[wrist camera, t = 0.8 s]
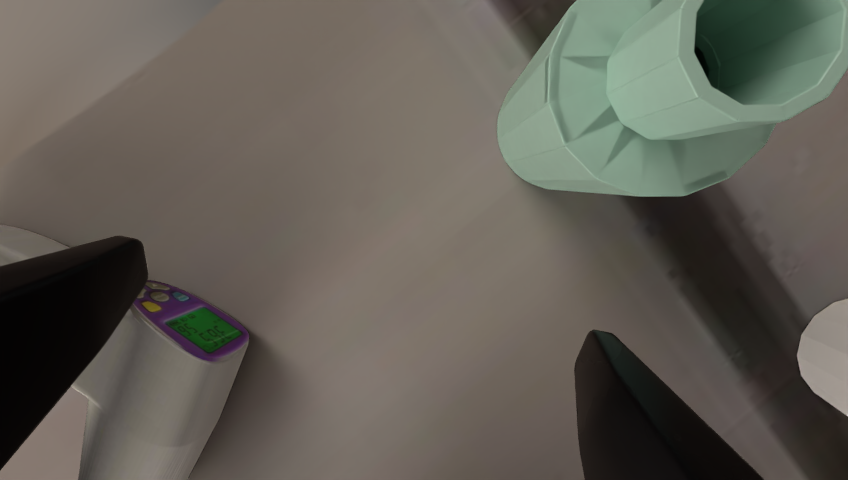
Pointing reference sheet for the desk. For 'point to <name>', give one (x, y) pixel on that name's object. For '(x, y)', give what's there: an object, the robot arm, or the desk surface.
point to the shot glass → (827, 355)
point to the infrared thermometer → (150, 378)
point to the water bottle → (667, 91)
